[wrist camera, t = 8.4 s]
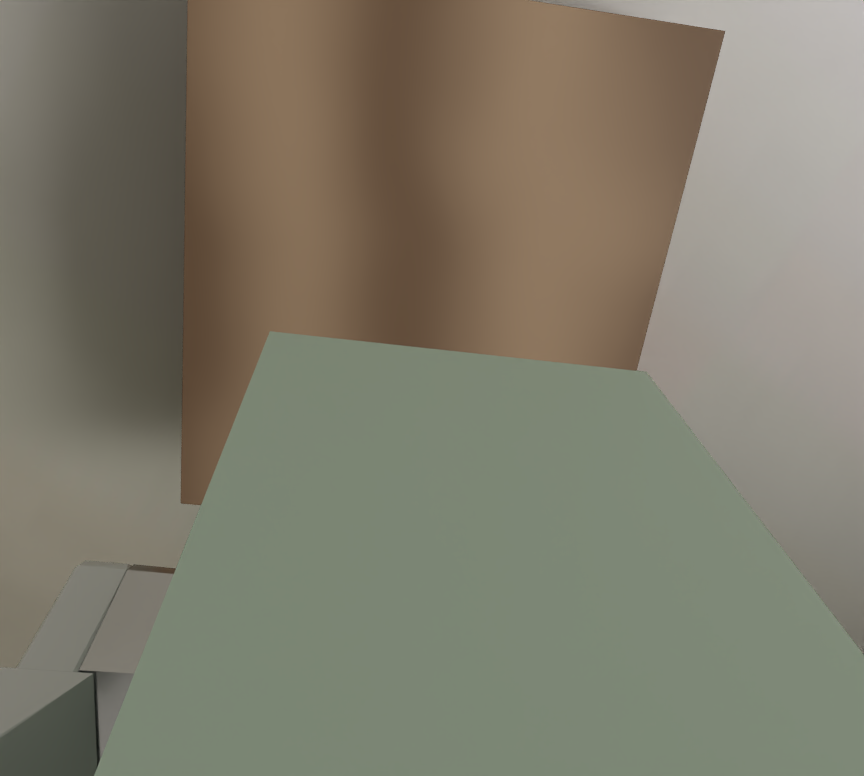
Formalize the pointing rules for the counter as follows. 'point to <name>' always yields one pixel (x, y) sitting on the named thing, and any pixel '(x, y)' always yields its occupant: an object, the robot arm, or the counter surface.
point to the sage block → (480, 588)
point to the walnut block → (425, 183)
